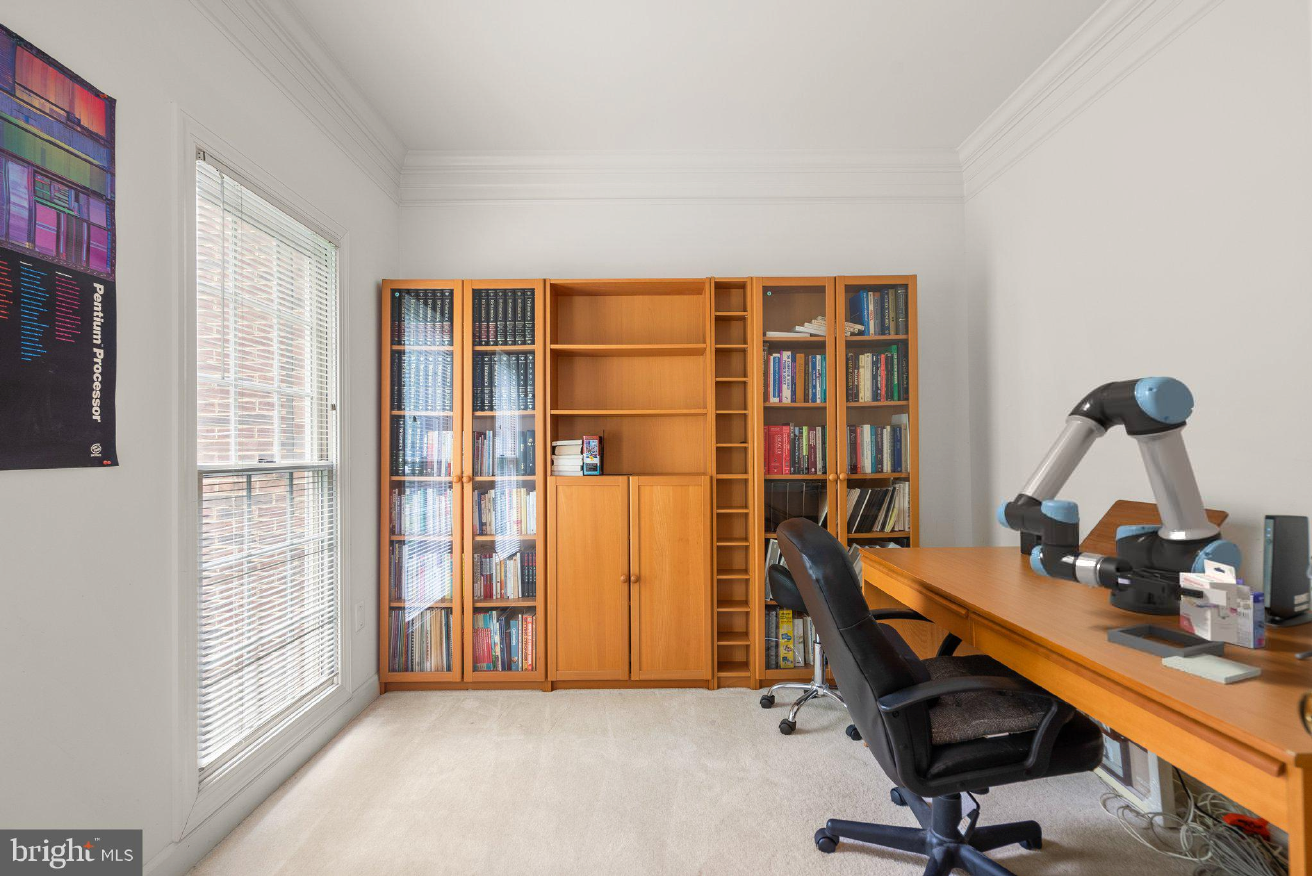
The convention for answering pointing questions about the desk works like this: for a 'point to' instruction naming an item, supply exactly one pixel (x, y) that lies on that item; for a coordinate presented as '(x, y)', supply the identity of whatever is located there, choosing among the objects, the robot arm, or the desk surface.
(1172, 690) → the desk surface
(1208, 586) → the ink cartridge box
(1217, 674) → the board
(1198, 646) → the dock
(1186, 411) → the robot arm
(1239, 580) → the ink cartridge box
